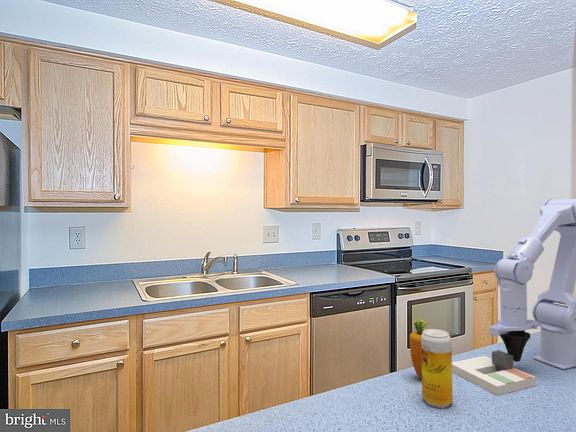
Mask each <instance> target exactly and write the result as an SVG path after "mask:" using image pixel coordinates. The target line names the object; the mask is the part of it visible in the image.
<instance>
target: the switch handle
mask: <svg viewBox="0 0 576 432" xmlns="http://www.w3.org/2000/svg"><path fill="white" fill-rule="evenodd" d="M491 359H492V364H494V365H497V372H498V371H502V370H507V369H511V368H514V361H513V356H512V355H510V354H508V352H505V351H501V350H499V349H498V350H493V351H491Z"/></svg>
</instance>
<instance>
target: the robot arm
mask: <svg viewBox="0 0 576 432" xmlns="http://www.w3.org/2000/svg"><path fill="white" fill-rule="evenodd" d="M539 208H540V209H539V212H540V216H539V219H538V220H537V222H536V223H535V225H534V227H533V229H532V231H531V232H530V233H529V235H528V236H524V237H523V236H522V237H521V238H520V239H519V240H518V241H517V243H516V244H515V246H514V247H513V248H512V250H511V251H510V253H509V254H508V255H507V256H506V258H505V257H504V258H501V259H500V260H499V261H498V262H497V263H496V264H495V268H494V269H493V273H494V276H495V278H496V279H497V285H498V287H499V291H500V292H499V293H500V295H499V296H500V298H499V299H500V300H499V301H500V319H497V323H495V324H494V325H489V326H488V330H489V335H491V336H494V337H499V336H500V338H501V340H502V342H503V344H504V346H505V349H506V353H507V354H510V355H512V356H513V362H516V363H517V362H521V359H522V356H523V353H524V349H525V346H526V344H527V343H528V341H529V340H530V338H531V333H530V332H528V331H527V330H530V329H531V330H532V329H533V330H538V329H539V328H540V355H535V356H533V357H532V358H533V360H537V361H539V362H543V364H548V365H550V366H553V367H555V368H557V369H562V370H566V369H570V368H575V367H576V297H575V296H574V292H575V291H574V290H575V285H576V198H565V199H563V198H562V199H551V198H549V199H547V200H544V202H543V203H542V206H541V207H539ZM554 231H555V232H558V233H559V234H560V238H559V242H558V246H557V250H556V255H555V260H554V264H553V265H554V266H553V270H552V272H551V278H550V282H549V287H548V289H547V290H546V291H543V292H542V293H540V294H538V295H537V299H536V302H535V303H534V304H533V306H532V310H531V314H532V317H533V319H528V299H527V298H528V294H527V293H528V292H527V290H528V289H527V284H528V282H529V281H530V280H532V277H533V273H534V269H535V265H534V264H535V263H536V261H538V260H539V258H540V256H541V255H542V253H543V252H544V249H545V247H544V246H543V245H544V244H543V243H544V242H545V241H546V240H547V239H548V238H549V237H550V236H551V235H552V234H553V233H554Z"/></svg>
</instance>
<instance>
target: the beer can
mask: <svg viewBox="0 0 576 432" xmlns="http://www.w3.org/2000/svg"><path fill="white" fill-rule="evenodd" d="M452 350H453V349H452V338H451V336H450V333H449V331H446V330H443V329H439V328H438V329H437V328H427V329H426V328H425V330H424V331H423V333H422V335H421V359H422V379H421V393H422V394H421V396H422V398H423V400H424V401H425V403H426V404H428V405H429V406H431V407H434V408H437V409H438V408H439V409H445V408H448V407H449V406H450V405H451V404H452V403H453V399H454V398H453V394H454V393H453V372H452V359H453V358H452Z"/></svg>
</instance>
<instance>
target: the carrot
mask: <svg viewBox="0 0 576 432" xmlns="http://www.w3.org/2000/svg"><path fill="white" fill-rule="evenodd" d="M413 323H414V327H415V330H416V331H414V332H411V333H410V334H409V337H408V338H409V349H410V350H409V353H410V357H411V362H412V367H413V369H414V372H415V373H416V376H417V378H418V379H419V380H422V359H421V335H422V333H423V331H424V330H426V328H425V327H426V326H427V325H428V324H429V321H426V322H424V320H423V319H419V317H418V318H415V321H413Z"/></svg>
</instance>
